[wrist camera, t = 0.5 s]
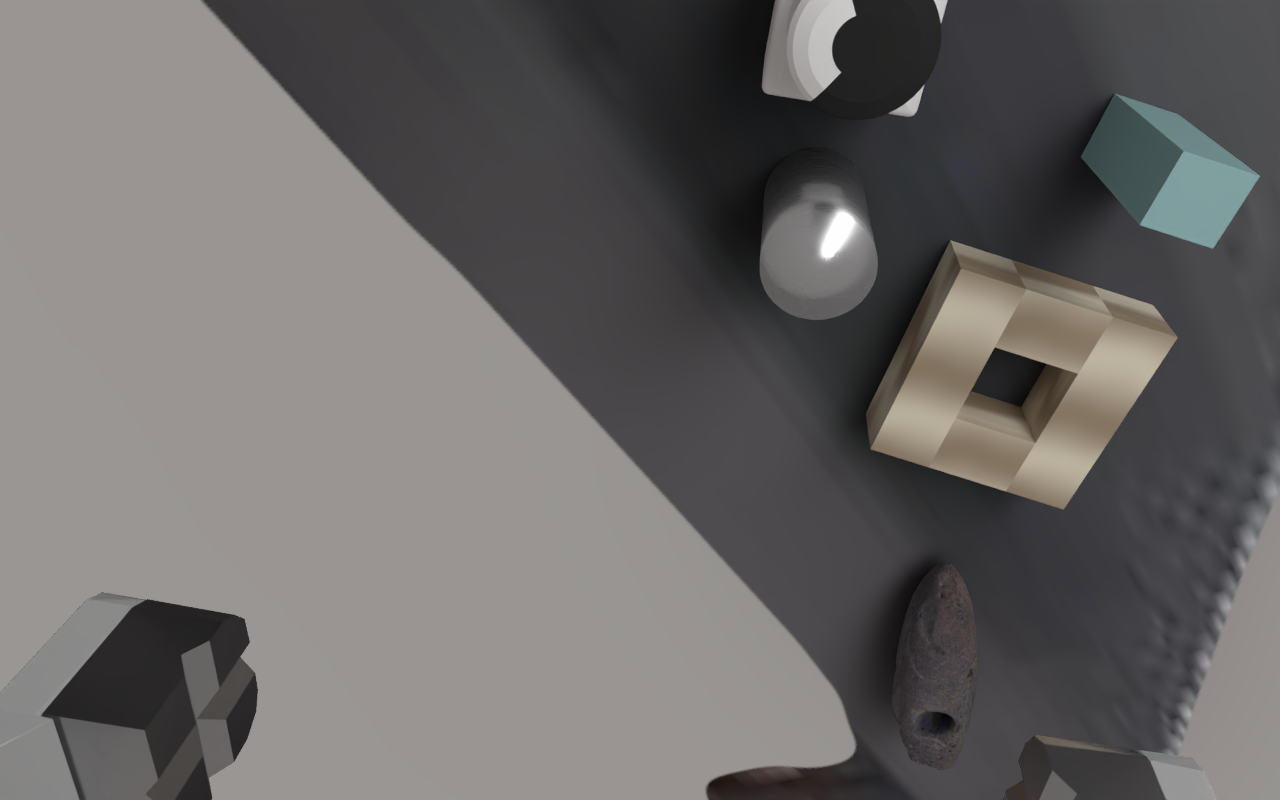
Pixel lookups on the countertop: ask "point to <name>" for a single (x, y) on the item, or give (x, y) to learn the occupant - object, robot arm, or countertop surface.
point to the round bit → (816, 236)
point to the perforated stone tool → (936, 669)
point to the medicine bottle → (853, 54)
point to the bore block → (1031, 327)
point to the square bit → (1167, 171)
